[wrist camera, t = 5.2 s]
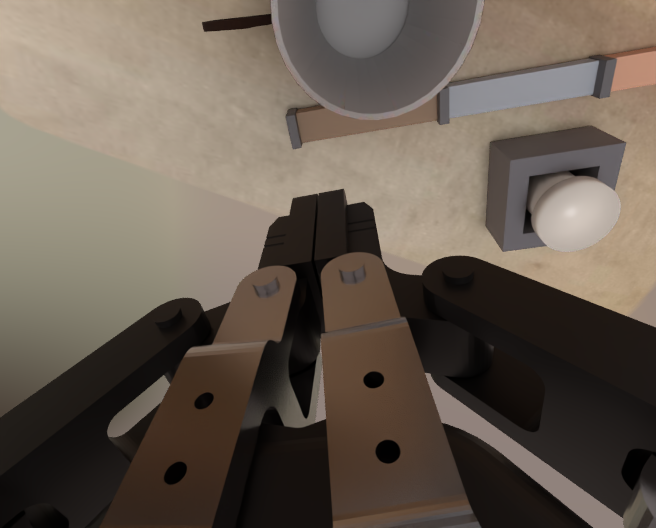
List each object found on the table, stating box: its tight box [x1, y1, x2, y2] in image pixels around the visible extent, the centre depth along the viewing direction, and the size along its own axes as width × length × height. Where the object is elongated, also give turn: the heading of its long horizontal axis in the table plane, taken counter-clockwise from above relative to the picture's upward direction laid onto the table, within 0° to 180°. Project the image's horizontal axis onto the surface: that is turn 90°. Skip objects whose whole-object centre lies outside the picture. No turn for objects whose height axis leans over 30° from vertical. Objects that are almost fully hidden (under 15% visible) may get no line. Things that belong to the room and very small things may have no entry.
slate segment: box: [436, 58, 599, 125], centre depth 26 cm, size 2×10×2 cm, turn 100°
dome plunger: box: [526, 171, 621, 252], centre depth 27 cm, size 5×5×6 cm
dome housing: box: [486, 126, 626, 252], centre depth 29 cm, size 7×7×4 cm
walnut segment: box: [286, 94, 438, 149], centre depth 27 cm, size 2×10×2 cm, turn 99°
